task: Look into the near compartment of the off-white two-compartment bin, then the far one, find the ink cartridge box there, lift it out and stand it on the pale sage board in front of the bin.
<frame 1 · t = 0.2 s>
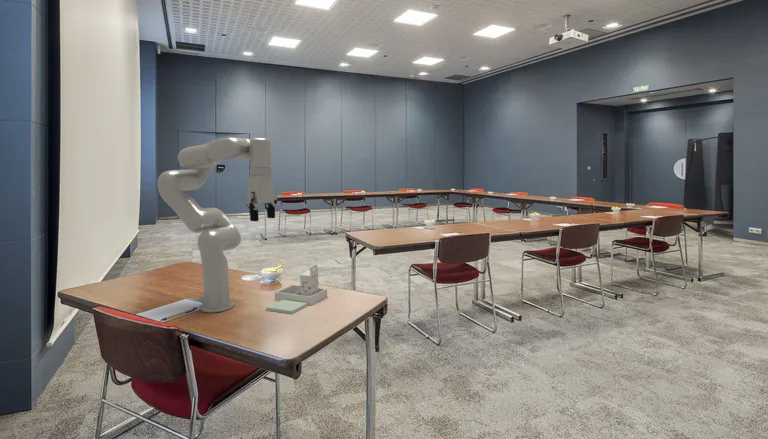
hand: (263, 219, 158), 36 cm above the table, tool pointing down, fingers open, 9 cm apart
bin: (301, 298, 183), on the table
ink cartridge box: (309, 300, 181), resting in bin
board: (287, 308, 171), on the table
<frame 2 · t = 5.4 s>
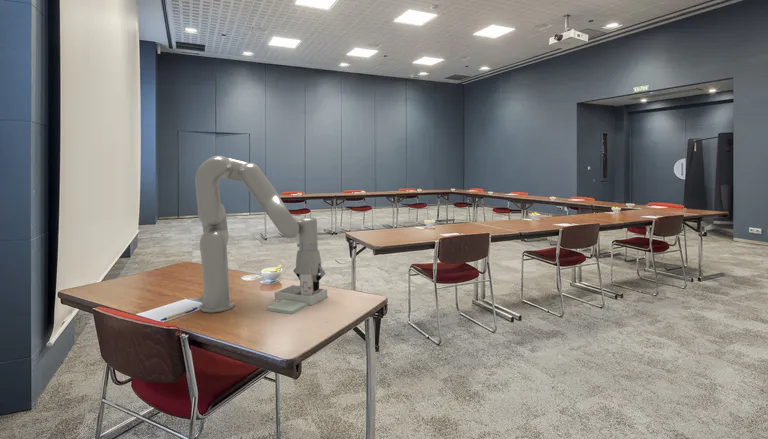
hand: (309, 289, 181), 5 cm above the table, tool pointing down, fingers closed on ink cartridge box, 5 cm apart
ink cartridge box: (309, 300, 181), resting in bin, touching gripper
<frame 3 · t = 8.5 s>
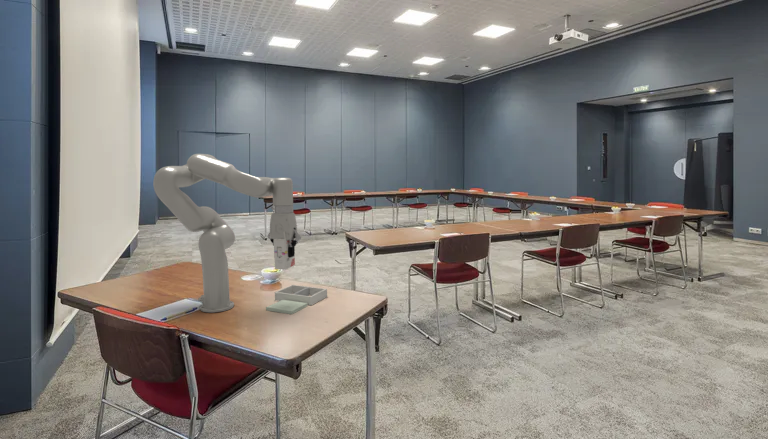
hand: (284, 255, 168), 21 cm above the table, tool pointing down, fingers closed on ink cartridge box, 5 cm apart
ink cartridge box: (284, 267, 168), point 16 cm above the table, touching gripper
when the fingers open (6 cm above the table, at t = 11.6 s): ink cartridge box stays where it is, resting on board.
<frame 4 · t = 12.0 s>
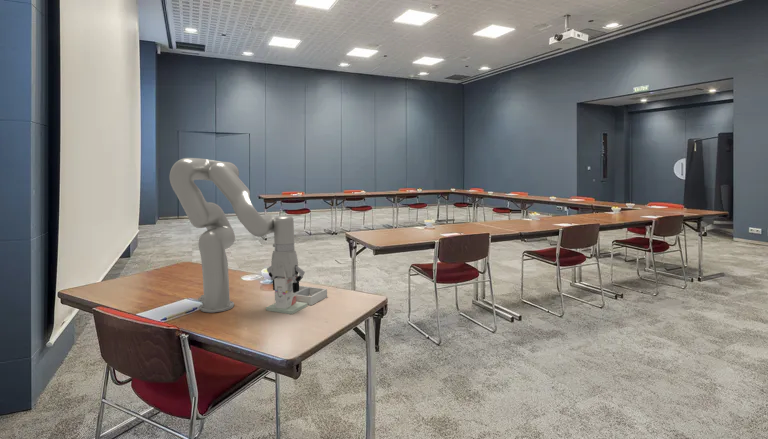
hand: (286, 290, 170), 7 cm above the table, tool pointing down, fingers open, 9 cm apart
ink cartridge box: (285, 305, 170), point 1 cm above the table, touching board
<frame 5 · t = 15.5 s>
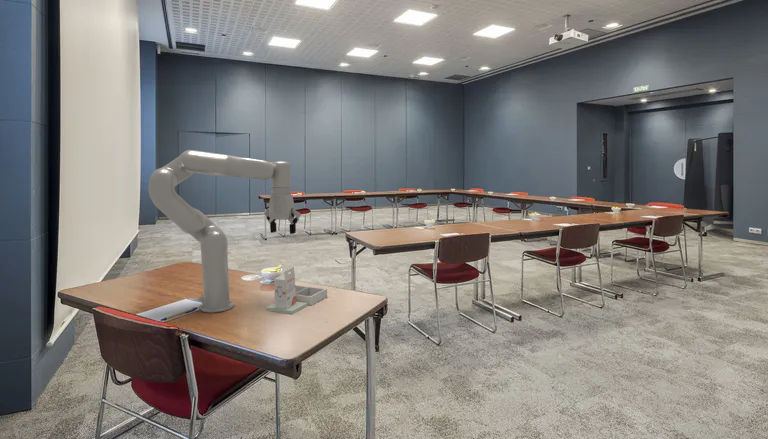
hand: (283, 232, 179), 28 cm above the table, tool pointing down, fingers open, 9 cm apart
nothing on the table moved.
at the end: ink cartridge box inside the target area on the board (0.5 cm from its centre), point 1.0 cm above the board's base; ink cartridge box tilted 0°; the gripper is holding nothing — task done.
